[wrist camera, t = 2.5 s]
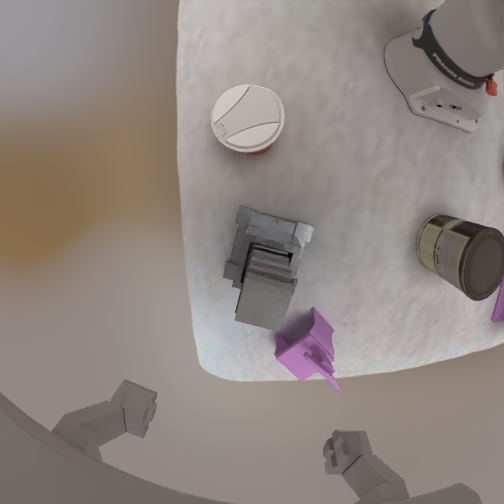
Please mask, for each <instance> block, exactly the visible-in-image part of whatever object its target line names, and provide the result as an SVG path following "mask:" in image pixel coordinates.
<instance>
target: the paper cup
mask: <svg viewBox="0 0 504 504" xmlns="http://www.w3.org/2000/svg"><path fill="white" fill-rule="evenodd" d="M284 121H285V114H284V109H283V104H282V101H281V99H280V98H279V97H278V96H277V94H276V93H274V92H273V91H272V90H270V89H267V88H264V87H262V86H258V85H253V84H244V85H238V86H235V87H232V88H231V89H229V90H227V91H226V92H224V93H223V94H222V95H221V96H220V97H219V98H218V99H217V101H216V102H215V104H214V106H213V109H212V112H211V126H212V129H213V132H214V134H215V136H216V137H217V138H218V140H219V141H220V142H221V143H222V144H224V145H225V146H227V147H228V148H230V149H232V150H235V151H239V152H246V153H249V154H260V153H263V152H265V151H266V150H268V149H269V148H270V147H271V145H272V144H273V142H274V141H275V140H276V139H277V138H278V136H279V135H280V133H281V131H282V129H283V126H284Z"/></svg>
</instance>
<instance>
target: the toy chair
mask: <svg viewBox="0 0 504 504" xmlns="http://www.w3.org/2000/svg"><path fill="white" fill-rule="evenodd" d="M312 312H313V316H314V325H313V326H312V328H311V329H310V331H309V332H308V333H307V334H306V335H305V336H303V337H302V338H301V339H299V340H298V341H297V342H295V343H294V344H293V345H291V346H289V345H288V344H287V343H286V342H285V341H284V340H283V339H282V338H281V337H280V336H279V335H278V334H275V340H276V351H275V353H274V355H275V356H276V359H277V360H278V361H279V362H280V363H281V364H283V365H284V366H285V367H286V368H287V369H288V370H289V371H291V372H292V373H293V374H294V375H295V376H296V377H297V378H298V379H299V380H300V381H303V380H304V379H306V378H308V377H309V376H310V375H312V374H313V373H315V372H316V371H318V372H319V373H320V374H322V375H323V376H324V377H325V378H327V379H328V380H329V381H330V382H331V383H332V384H333V385H334V386H335V387H336V389H337V390H338V391H340V385H339V384H338V382H337V381H336V379H335V378H334V377H333V376H332V373H334V372H335V371H334V369H333V367H332V365H331V362H332V361H334V358H333V356H334V348H333V345H332V340H331V337H332V333H333V332H334V330H333V328H332V327H331V326H330V325H329V324H328V323H327V322H326V320H325V319H324V318H323V317H322V316H321V315H320V314H319V312H318V311H317V310H316V309H315V308H314V307H312Z"/></svg>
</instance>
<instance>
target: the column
mask: <svg viewBox="0 0 504 504" xmlns="http://www.w3.org/2000/svg"><path fill="white" fill-rule="evenodd" d="M287 255H288V251H284V250H280V249H276V248H273V247H269V246H265V245H261V244H257V243H254V245H253V248H252V252H251V255H250V259H249V262H248V265H247V268H246V272H245V276H244V280H243V283H242V287H241V291H240V295H239V299H238V303H237V307H236V311H235V313H236V317H235V321H239V322H243V323H247V324H251V325H255V326H259V327H263V328H267V329H271V330H276V331H280V329H281V326H282V323H283V320H284V317H285V314H286V311H287V309H288V306H289V303H290V300H291V297H292V294H293V285H294V279H291V276H292V270H290V266H291V263H288V262H289V257H288V256H287Z"/></svg>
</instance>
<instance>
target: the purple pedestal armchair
mask: <svg viewBox="0 0 504 504" xmlns="http://www.w3.org/2000/svg"><path fill="white" fill-rule="evenodd" d="M503 319H504V276H503V279H502V282H501V286H500V290H499V294H498V298H497V302H496V305H495V309H494V312H493V315H492V319H491V320H492V321H494V322H495V321H499V320H503Z"/></svg>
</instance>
